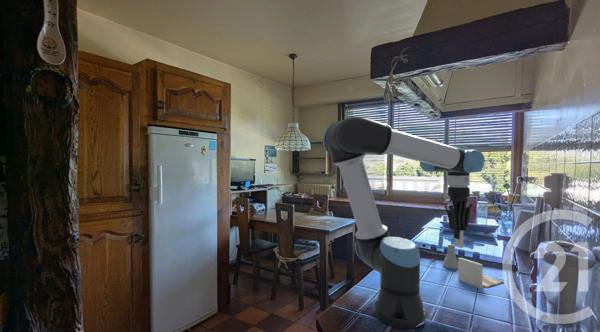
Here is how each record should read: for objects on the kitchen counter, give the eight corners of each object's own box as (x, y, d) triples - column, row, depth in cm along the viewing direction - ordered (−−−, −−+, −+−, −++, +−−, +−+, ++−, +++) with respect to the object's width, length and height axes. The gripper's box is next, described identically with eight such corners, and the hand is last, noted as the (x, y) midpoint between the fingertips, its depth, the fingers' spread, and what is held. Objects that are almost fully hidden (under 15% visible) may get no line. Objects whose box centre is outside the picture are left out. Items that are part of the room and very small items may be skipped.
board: (486, 287, 111) (486, 286, 111) (459, 277, 121) (459, 276, 121) (503, 283, 116) (503, 281, 116) (476, 273, 126) (476, 272, 126)
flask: (463, 269, 130) (463, 247, 130) (447, 269, 131) (447, 247, 131) (454, 264, 138) (455, 243, 138) (439, 264, 138) (439, 243, 138)
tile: (479, 288, 111) (479, 264, 111) (458, 279, 119) (458, 258, 119) (482, 287, 112) (482, 264, 112) (460, 279, 120) (461, 257, 120)
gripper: (456, 187, 106) (456, 251, 106) (478, 186, 112) (479, 247, 112) (438, 186, 113) (439, 246, 113) (460, 185, 118) (461, 242, 119)
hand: (459, 246), depth 112 cm, fingers closed
